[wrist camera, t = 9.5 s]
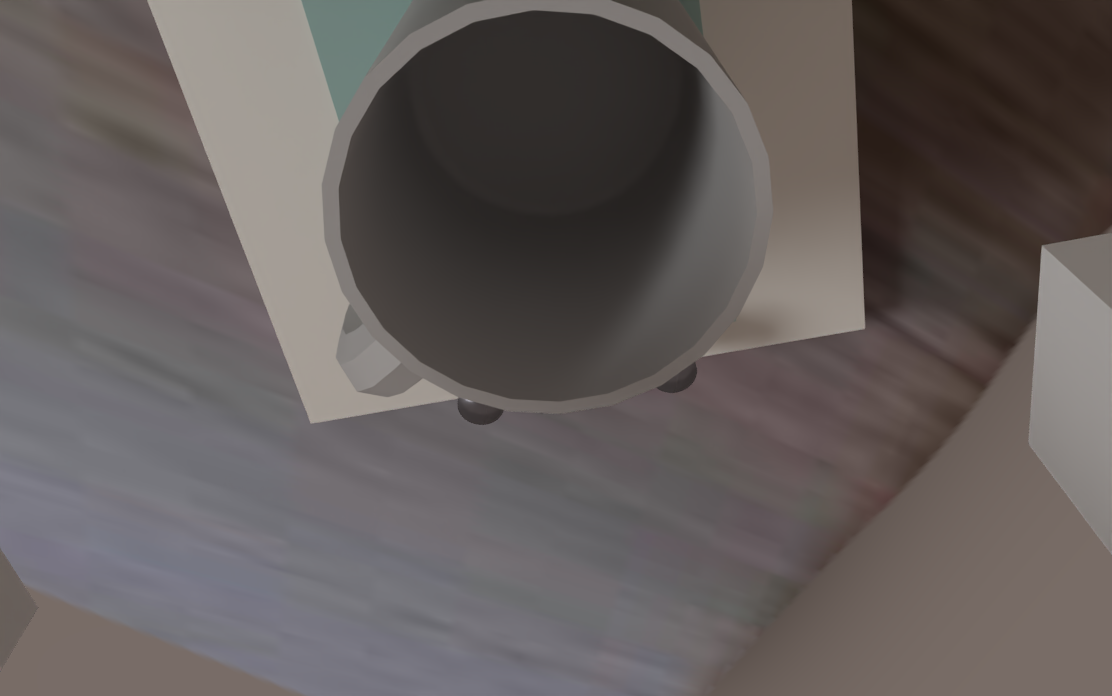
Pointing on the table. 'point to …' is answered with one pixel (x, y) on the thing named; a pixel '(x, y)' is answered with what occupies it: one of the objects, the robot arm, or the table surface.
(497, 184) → the cup
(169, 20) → the board
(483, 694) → the table surface
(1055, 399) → the robot arm
